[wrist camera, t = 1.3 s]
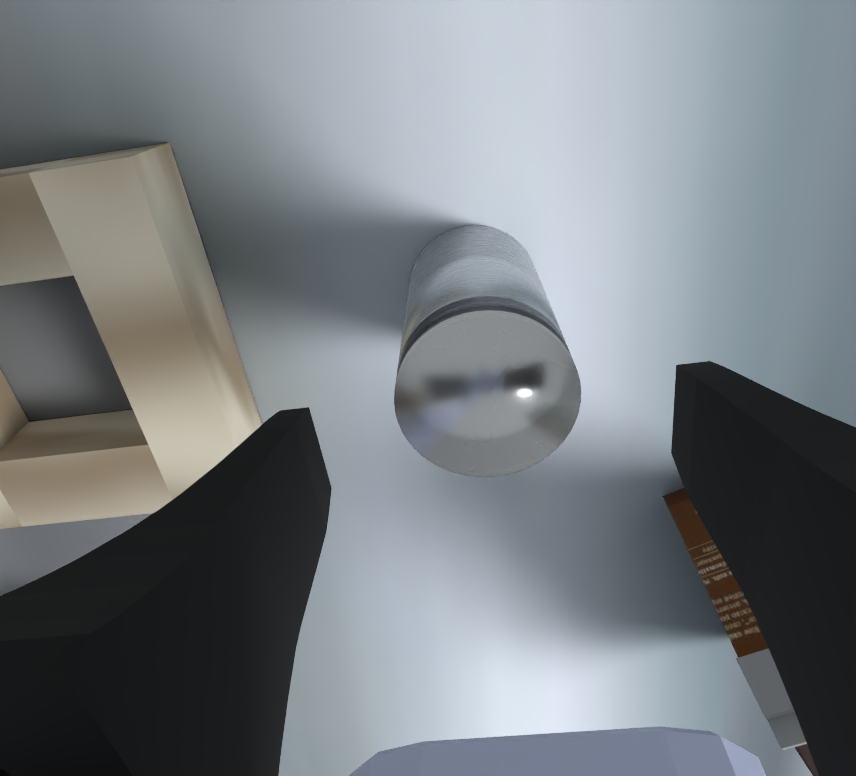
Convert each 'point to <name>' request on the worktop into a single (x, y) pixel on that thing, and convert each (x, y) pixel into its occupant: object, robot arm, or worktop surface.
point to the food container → (740, 627)
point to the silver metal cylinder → (482, 358)
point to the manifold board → (121, 339)
